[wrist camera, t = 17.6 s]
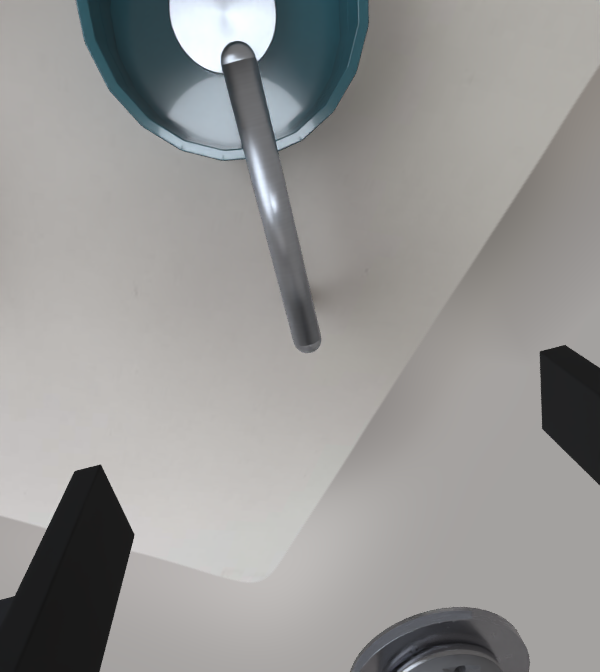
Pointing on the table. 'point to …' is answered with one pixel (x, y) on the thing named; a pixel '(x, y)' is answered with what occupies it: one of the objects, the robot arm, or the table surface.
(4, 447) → the table surface
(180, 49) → the bowl
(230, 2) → the ladle
